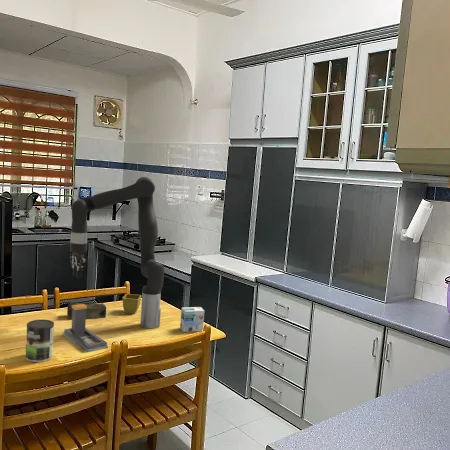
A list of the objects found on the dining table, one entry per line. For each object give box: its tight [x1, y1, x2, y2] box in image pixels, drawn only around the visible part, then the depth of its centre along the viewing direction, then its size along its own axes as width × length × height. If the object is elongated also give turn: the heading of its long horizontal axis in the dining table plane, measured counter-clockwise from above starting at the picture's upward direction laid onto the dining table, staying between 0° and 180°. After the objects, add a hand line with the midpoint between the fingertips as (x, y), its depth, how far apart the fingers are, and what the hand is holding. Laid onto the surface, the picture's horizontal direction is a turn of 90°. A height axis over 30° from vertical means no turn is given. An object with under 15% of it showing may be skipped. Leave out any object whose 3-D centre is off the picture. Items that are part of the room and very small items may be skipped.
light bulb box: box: [179, 306, 205, 333], centre depth 232 cm, size 11×7×11 cm, turn 112°
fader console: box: [62, 327, 109, 353], centre depth 206 cm, size 24×10×2 cm, turn 42°
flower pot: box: [122, 293, 142, 315], centre depth 252 cm, size 9×9×9 cm
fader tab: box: [71, 303, 87, 335], centre depth 210 cm, size 4×5×13 cm
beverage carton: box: [66, 302, 107, 320], centre depth 239 cm, size 8×19×7 cm, turn 113°
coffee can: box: [25, 319, 55, 363], centre depth 185 cm, size 10×10×14 cm
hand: (77, 277), depth 218 cm, fingers open, 4 cm apart
